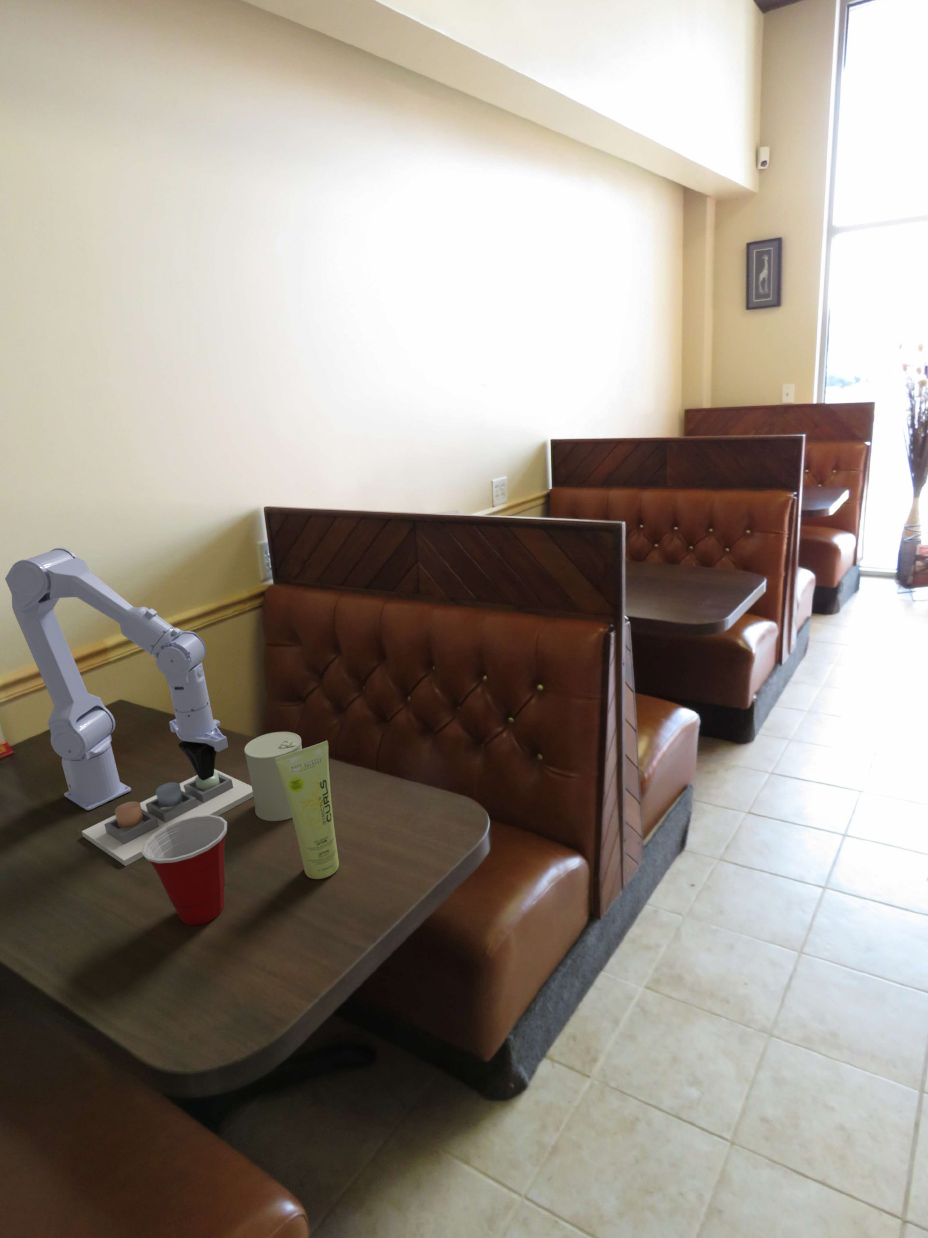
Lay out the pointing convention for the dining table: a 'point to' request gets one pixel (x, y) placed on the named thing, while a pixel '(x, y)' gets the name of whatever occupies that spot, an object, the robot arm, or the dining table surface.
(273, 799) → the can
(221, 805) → the console
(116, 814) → the peach button
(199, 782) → the sage button
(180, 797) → the slate button
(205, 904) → the plastic cup
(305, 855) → the tube
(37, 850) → the dining table surface
